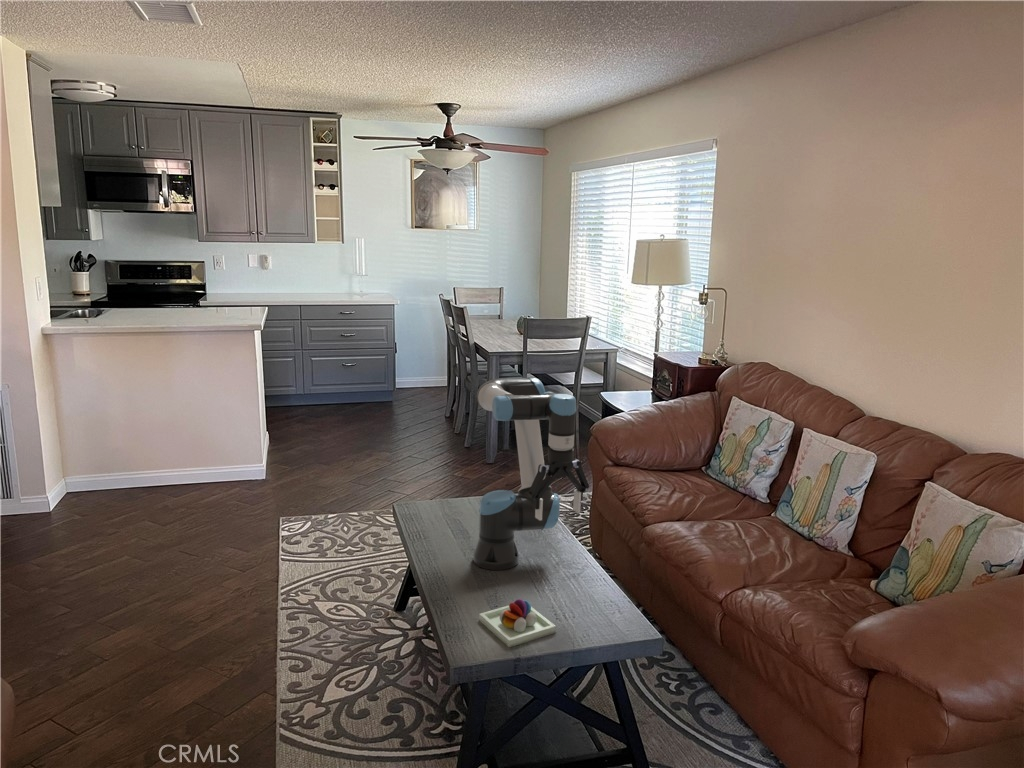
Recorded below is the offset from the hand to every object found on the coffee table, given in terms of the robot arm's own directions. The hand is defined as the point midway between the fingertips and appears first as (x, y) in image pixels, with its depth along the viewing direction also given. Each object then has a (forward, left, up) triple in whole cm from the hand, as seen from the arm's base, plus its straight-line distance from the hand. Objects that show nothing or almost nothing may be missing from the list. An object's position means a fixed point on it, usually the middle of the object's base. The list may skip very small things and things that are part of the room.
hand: (557, 515), depth 217 cm
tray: (+11, -21, -25) cm, 35 cm away
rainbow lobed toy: (+12, -21, -25) cm, 34 cm away
